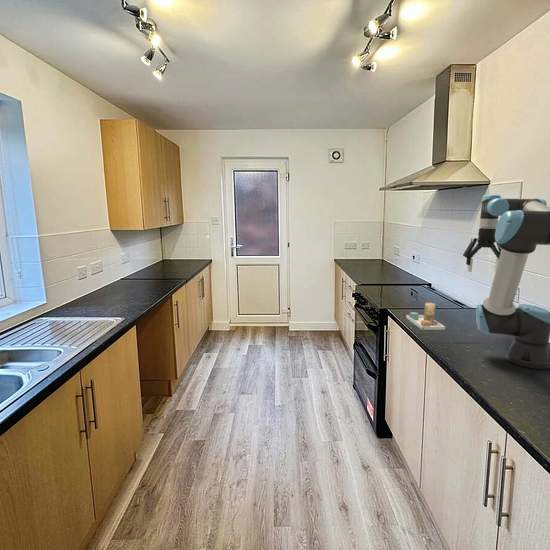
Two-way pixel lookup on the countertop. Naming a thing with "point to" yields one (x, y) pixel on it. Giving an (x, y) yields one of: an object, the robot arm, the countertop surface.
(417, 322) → the parts tray
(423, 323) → the terracotta block
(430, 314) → the turned wooden pepper mill
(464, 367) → the countertop surface
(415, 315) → the teal block
